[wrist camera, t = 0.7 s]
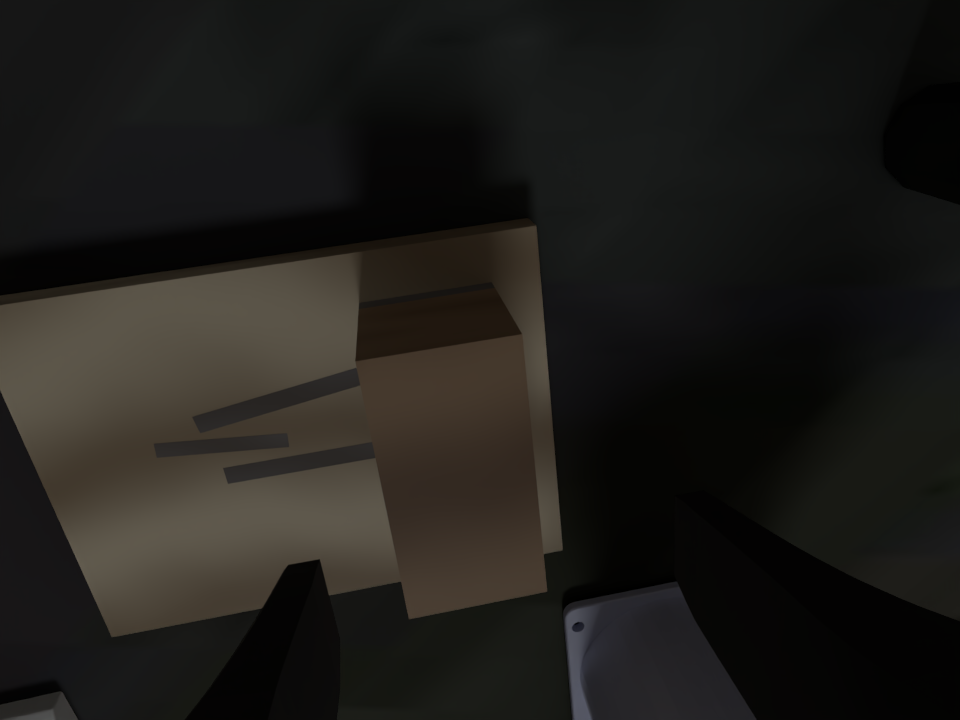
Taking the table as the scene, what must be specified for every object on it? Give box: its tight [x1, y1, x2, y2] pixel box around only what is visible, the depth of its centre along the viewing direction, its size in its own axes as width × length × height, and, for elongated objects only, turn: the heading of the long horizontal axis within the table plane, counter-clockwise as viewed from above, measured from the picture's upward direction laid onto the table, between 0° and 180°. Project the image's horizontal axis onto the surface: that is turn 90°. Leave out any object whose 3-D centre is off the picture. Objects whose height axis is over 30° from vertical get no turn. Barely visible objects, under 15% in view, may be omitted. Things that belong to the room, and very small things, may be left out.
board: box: [0, 218, 563, 637], centre depth 22 cm, size 12×16×1 cm
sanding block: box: [355, 282, 547, 619], centre depth 19 cm, size 8×4×4 cm, turn 7°
